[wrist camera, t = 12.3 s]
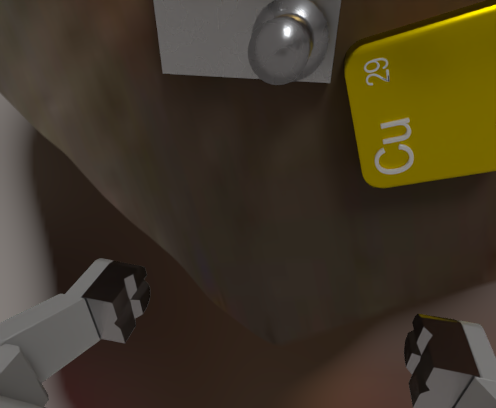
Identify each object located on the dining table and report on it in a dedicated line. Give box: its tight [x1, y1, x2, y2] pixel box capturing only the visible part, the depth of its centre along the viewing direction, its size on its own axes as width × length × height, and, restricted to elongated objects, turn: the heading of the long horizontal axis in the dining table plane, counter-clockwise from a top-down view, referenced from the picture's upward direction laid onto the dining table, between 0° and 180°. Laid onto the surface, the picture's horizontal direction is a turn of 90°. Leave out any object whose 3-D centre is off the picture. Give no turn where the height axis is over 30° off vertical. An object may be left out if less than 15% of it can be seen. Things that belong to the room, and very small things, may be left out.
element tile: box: [344, 0, 496, 188], centre depth 33 cm, size 15×15×5 cm
